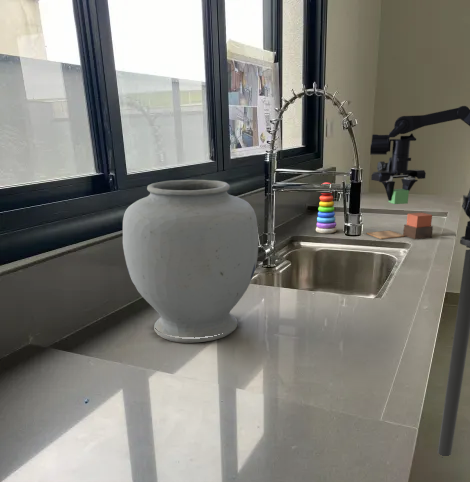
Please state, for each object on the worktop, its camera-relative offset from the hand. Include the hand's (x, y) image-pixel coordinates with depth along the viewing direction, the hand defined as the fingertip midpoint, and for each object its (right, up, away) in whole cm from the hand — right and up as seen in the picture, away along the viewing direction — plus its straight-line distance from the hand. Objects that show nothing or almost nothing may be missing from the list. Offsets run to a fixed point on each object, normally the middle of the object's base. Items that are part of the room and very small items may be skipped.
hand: (396, 200), depth 178 cm
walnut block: (+8, -13, +2) cm, 15 cm away
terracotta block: (+8, -9, +1) cm, 12 cm away
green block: (0, -1, -1) cm, 2 cm away
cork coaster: (-2, -12, +5) cm, 13 cm away
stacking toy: (-23, -9, +14) cm, 28 cm away
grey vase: (-66, -44, -72) cm, 107 cm away
